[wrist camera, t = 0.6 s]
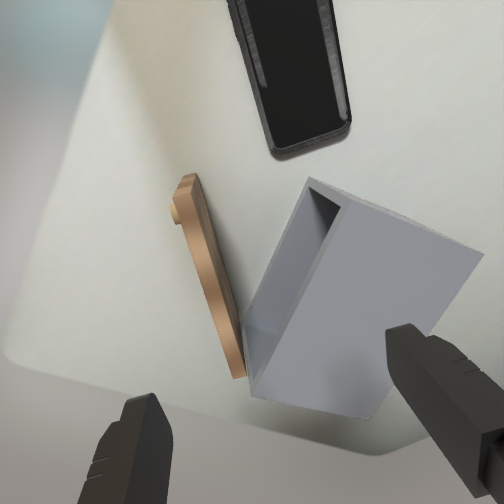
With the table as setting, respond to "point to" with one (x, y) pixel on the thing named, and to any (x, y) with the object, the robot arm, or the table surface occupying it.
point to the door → (209, 268)
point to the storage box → (345, 300)
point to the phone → (293, 69)
